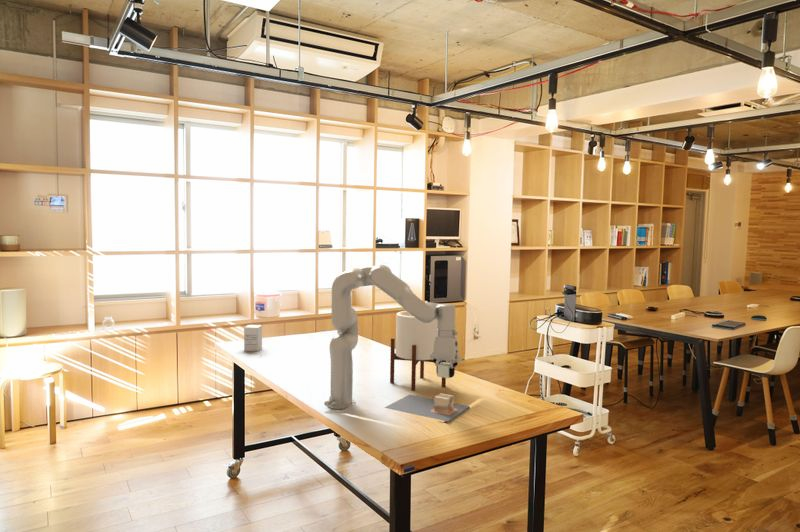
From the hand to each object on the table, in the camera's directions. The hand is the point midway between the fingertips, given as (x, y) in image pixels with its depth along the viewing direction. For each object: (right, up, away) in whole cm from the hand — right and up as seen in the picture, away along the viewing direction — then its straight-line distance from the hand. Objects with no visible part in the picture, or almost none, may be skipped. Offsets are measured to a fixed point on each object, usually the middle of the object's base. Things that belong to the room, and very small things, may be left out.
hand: (445, 375), depth 230 cm
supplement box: (-111, -6, +112) cm, 158 cm away
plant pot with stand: (-10, -13, +42) cm, 45 cm away
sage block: (0, 0, 0) cm, 0 cm away
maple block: (-1, -15, +1) cm, 15 cm away
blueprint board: (-7, -16, +5) cm, 18 cm away
